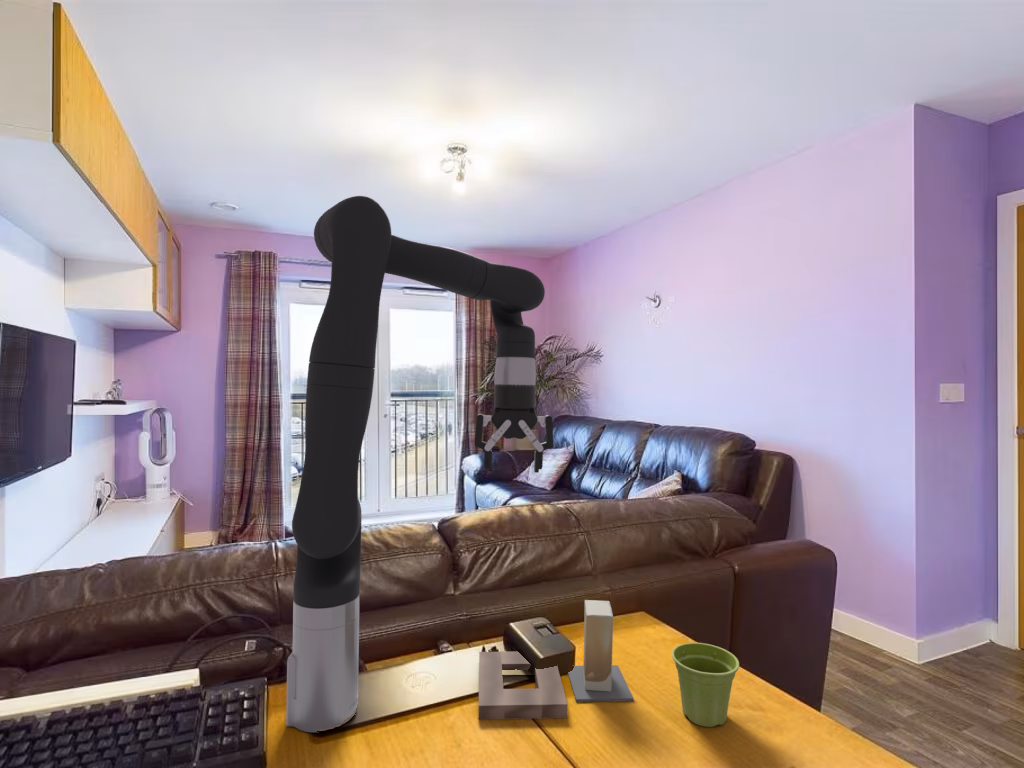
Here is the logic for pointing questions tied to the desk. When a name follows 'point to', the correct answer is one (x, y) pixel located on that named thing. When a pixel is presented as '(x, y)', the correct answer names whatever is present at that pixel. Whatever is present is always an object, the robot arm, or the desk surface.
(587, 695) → the mat
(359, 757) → the desk surface
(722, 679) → the plant pot
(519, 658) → the puzzle board
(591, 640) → the skincare box
